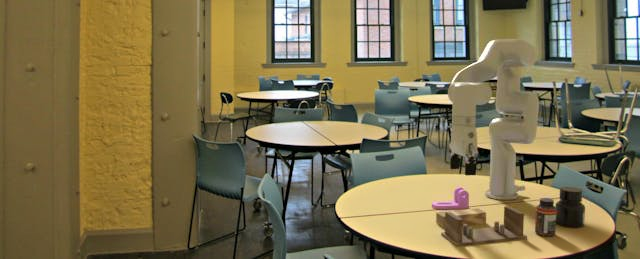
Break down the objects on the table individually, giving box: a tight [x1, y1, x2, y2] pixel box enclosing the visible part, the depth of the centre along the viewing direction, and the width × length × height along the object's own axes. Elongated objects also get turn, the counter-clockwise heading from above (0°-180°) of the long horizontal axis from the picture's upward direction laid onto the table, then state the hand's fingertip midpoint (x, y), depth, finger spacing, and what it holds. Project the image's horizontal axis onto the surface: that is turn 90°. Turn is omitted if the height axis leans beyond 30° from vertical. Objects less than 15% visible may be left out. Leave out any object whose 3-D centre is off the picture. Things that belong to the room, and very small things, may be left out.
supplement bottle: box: [534, 197, 557, 237], centre depth 161 cm, size 6×6×11 cm
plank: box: [435, 208, 487, 228], centre depth 173 cm, size 16×5×4 cm, turn 104°
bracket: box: [431, 186, 470, 210], centre depth 192 cm, size 13×6×7 cm, turn 93°
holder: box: [440, 205, 528, 247], centre depth 159 cm, size 24×10×8 cm, turn 104°
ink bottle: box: [554, 186, 586, 228], centre depth 170 cm, size 10×9×12 cm
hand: (462, 171), depth 171 cm, fingers open, 9 cm apart
